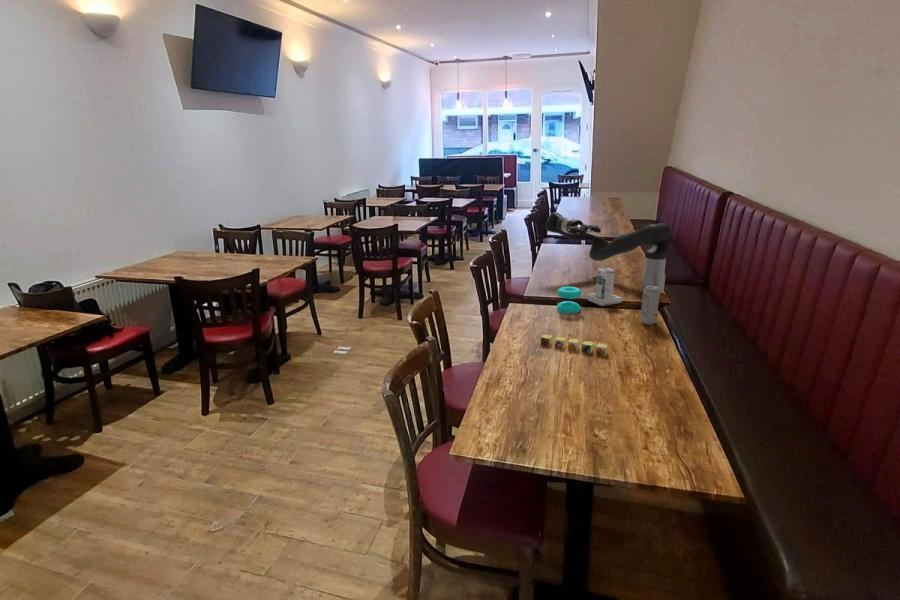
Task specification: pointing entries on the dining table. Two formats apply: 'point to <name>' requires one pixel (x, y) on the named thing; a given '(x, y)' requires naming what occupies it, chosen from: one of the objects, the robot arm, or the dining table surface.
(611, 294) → the syrup box
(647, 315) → the energy drink can
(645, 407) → the dining table surface
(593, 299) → the tray
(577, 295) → the donuts
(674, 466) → the dining table surface
